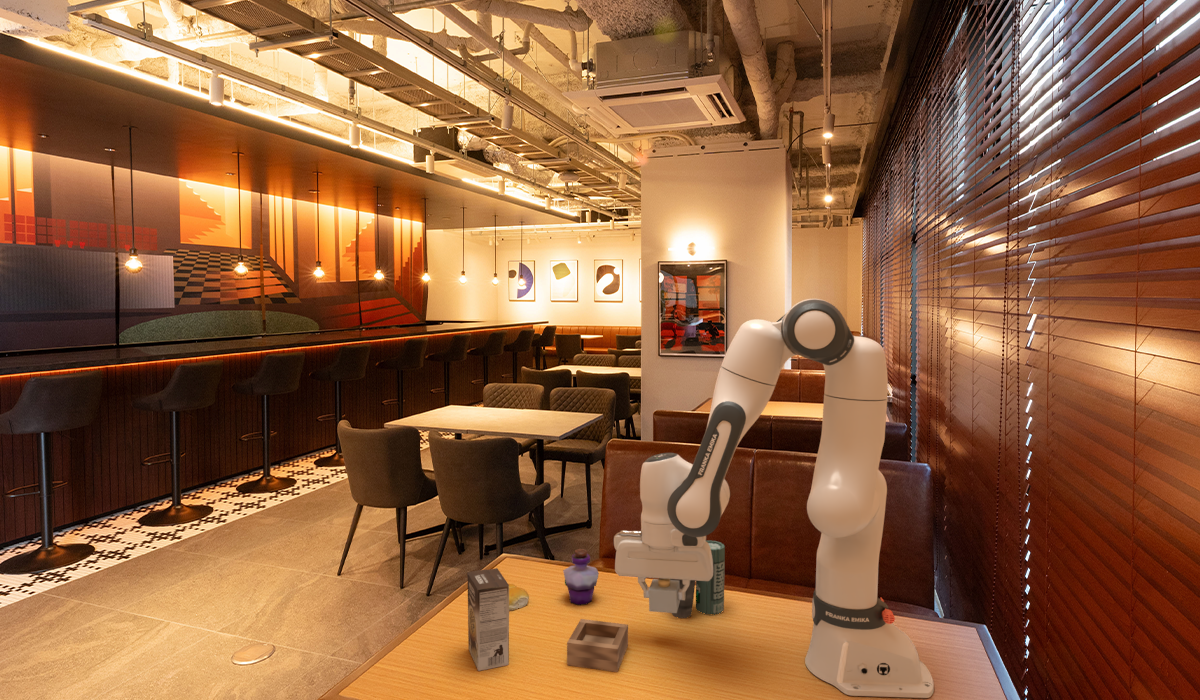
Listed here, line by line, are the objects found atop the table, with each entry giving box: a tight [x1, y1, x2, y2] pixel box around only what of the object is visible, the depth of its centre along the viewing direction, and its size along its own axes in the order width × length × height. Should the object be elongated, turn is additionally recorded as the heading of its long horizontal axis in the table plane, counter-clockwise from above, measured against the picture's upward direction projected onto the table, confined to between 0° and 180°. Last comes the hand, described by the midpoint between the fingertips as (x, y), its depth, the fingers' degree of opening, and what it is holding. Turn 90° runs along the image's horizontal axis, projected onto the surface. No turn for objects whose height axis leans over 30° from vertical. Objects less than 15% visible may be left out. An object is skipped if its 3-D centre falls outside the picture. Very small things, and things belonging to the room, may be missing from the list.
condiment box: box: [566, 618, 629, 673], centre depth 131 cm, size 10×10×4 cm
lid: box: [648, 578, 680, 614], centre depth 136 cm, size 6×6×6 cm
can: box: [695, 539, 726, 616], centre depth 151 cm, size 6×6×15 cm
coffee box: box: [466, 567, 510, 672], centre depth 129 cm, size 9×6×16 cm
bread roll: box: [508, 583, 530, 611], centre depth 154 cm, size 8×9×4 cm
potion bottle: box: [562, 548, 599, 606], centre depth 155 cm, size 9×9×12 cm
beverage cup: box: [670, 579, 696, 619], centre depth 148 cm, size 7×7×20 cm
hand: (664, 598), depth 136 cm, fingers closed on lid, 6 cm apart
